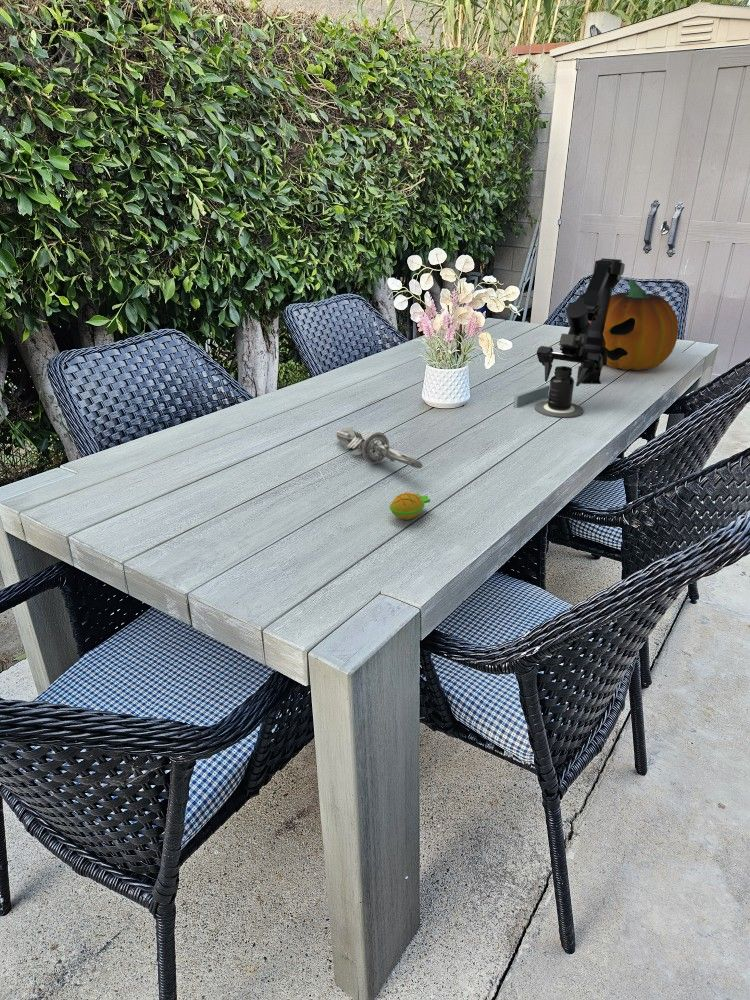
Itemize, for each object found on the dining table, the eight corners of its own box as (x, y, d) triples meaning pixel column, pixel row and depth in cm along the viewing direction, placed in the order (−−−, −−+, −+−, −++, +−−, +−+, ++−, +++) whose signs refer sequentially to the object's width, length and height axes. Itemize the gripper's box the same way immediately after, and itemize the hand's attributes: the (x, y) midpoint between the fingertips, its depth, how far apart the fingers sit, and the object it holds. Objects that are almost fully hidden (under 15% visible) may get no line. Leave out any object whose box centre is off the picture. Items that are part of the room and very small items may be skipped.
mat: (577, 402, 210) (577, 400, 209) (588, 418, 197) (588, 416, 197) (531, 401, 210) (531, 399, 210) (539, 417, 198) (539, 415, 197)
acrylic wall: (544, 395, 216) (546, 384, 214) (548, 396, 215) (549, 385, 213) (513, 406, 206) (514, 395, 205) (516, 407, 206) (517, 396, 204)
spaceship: (403, 461, 149) (429, 440, 152) (320, 430, 176) (342, 413, 179) (415, 489, 154) (439, 468, 156) (332, 454, 180) (354, 437, 183)
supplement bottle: (559, 402, 208) (564, 363, 202) (575, 408, 203) (581, 369, 197) (542, 405, 205) (547, 366, 199) (558, 412, 199) (563, 372, 194)
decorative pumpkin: (566, 359, 254) (577, 276, 241) (627, 351, 265) (641, 271, 252) (623, 381, 230) (639, 289, 216) (688, 371, 241) (707, 283, 228)
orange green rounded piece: (382, 520, 142) (382, 496, 139) (408, 502, 149) (409, 479, 147) (410, 529, 138) (411, 505, 136) (435, 510, 146) (436, 488, 143)
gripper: (542, 318, 200) (525, 364, 196) (607, 325, 191) (590, 373, 188) (547, 339, 209) (531, 383, 206) (609, 347, 201) (594, 393, 197)
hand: (561, 383), depth 199 cm, fingers open, 9 cm apart
